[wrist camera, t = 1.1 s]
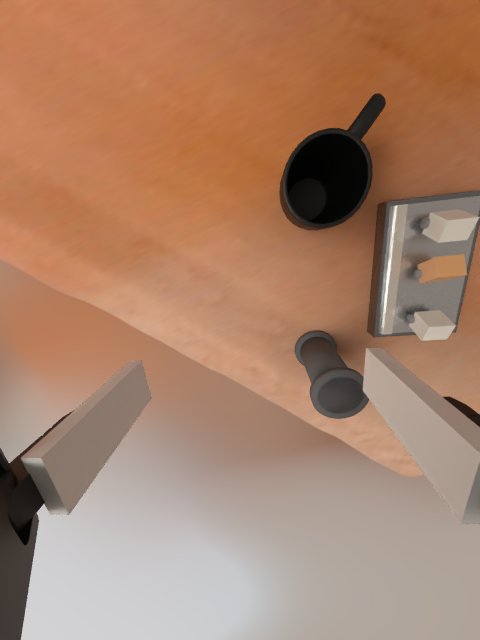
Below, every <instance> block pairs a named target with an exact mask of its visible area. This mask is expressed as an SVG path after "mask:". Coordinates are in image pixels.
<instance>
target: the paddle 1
mask: <svg viewBox="0 0 480 640" xmlns="http://www.w3.org/2000/svg"><path fill="white" fill-rule="evenodd" d="M479 218H480V217H478V216H476V215H473V214H470V213H468V212H465V211H462V210H460V209H457V210H448V211H439V212H430V215H429V217H428V218H423V219H422V220H421V222H420V228H421V229H424V230H423V232H422V234H424V235H425V236H427V237H429V238H431V239H432V240H434V241H436V242H437V243H441V242H451V241H461V240H468V238H469V236H470V234H471V232H472V230H473V229H474V227H475V225H476V223H477V221H478V219H479Z"/></svg>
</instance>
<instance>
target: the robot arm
mask: <svg viewBox="0 0 480 640" xmlns="http://www.w3.org/2000/svg"><path fill="white" fill-rule="evenodd" d="M363 392H364V393H365V394H366V396H367V397H368V398H369V400H370V401H371V402H372V404H373V405H374V407H375V408H376V409H377V411H378V412H379V413H380V415H381V416H382V417H383V419H384V420H385V422H386V423H387V424H388V426H389V427H390V428H391V430H392V431H393V432H394V434H395V435H396V437H397V438H398V439H399V441H400V442H401V443H402V445H403V446H404V447H405V449H406V450H407V451H408V453H409V454H410V456H411V457H412V458H413V460H414V461H415V462H416V464H417V465H418V466H419V468H420V469H421V471H422V472H423V473H424V475H425V476H426V477H427V479H428V480H429V481H430V483H431V484H432V486H433V487H434V488H435V490H436V491H437V492H438V494H439V495H440V496H441V498H442V499H443V501H444V502H445V503H446V505H447V506H448V507H449V509H450V510H451V511H452V513H453V514H454V515H455V517H456V518H457V520H458V521H459V522H460V524H480V415H479V414H478V413H477V412H475V411H474V410H473V409H471V408H470V407H469V406H467V405H466V404H464V403H462V402H460V401H458V400H456V399H454V398H452V397H442V396H440V395H439V394H438V393H437V392H435V391H434V390H433V389H432V388H431V387H429V386H428V385H427V384H426V383H424V382H423V381H422V380H421V379H419V378H418V377H417V376H416V375H414V374H413V373H412V372H411V371H410V370H408V369H407V368H406V367H405V366H403V365H402V364H401V363H400V362H398V361H397V360H396V359H395V358H393V357H392V356H391V355H390V354H389V353H387V352H386V351H385V350H384V349H382V348H381V347H376V348H366V356H365V368H364V381H363ZM150 400H151V394H150V390H149V386H148V383H147V379H146V375H145V371H144V367H143V364H142V361H130V362H129V363H127V364H126V365H125V366H124V367H123V368H122V369H121V370H120V371H119V372H117V373H116V374H115V375H114V376H113V377H111V378H110V379H109V380H108V381H107V382H106V383H105V384H104V385H102V386H101V387H100V388H99V389H98V390H97V391H96V392H95V393H94V394H92V395H91V396H90V397H89V398H88V399H87V400H86V401H84V402H83V403H82V404H81V405H80V406H79V407H78V408H76V409H75V410H74V411H72V412H70V413H69V414H67V415H66V416H64V417H62V418H61V419H60V420H59V421H58V422H57V423H56V424H54V425H53V426H52V428H50V429H49V430H48V431H46V432H45V433H44V435H43V436H41V437H39V438H38V439H37V440H36V441H35V442H34V443H33V444H31V445H30V446H29V447H28V448H27V449H26V450H24V451H23V452H22V453H21V454H20V455H19V456H17V457H16V458H15V459H14V460H13V461H12V462H11V463H8V461H7V459H6V458H5V456H4V454H3V452H2V450H1V448H0V640H21V634H22V627H23V621H24V615H25V607H26V601H27V595H28V587H29V582H30V575H31V568H32V562H33V556H34V549H35V543H36V536H37V530H38V523H39V520H38V515H37V513H36V512H37V511H38V510H39V509H40V508H41V506H42V505H43V504H45V506H46V507H47V509H48V511H49V513H50V514H56V515H69V514H70V513H71V511H72V510H73V509H74V507H75V506H76V504H77V503H78V501H79V500H80V499H81V497H82V496H83V494H84V493H85V492H86V490H87V489H88V487H89V486H90V484H91V483H92V482H93V480H94V479H95V477H96V476H97V474H98V473H99V472H100V470H101V469H102V468H103V466H104V465H105V463H106V462H107V461H108V459H109V457H110V456H111V455H112V453H113V452H114V451H115V449H116V448H117V446H118V445H119V444H120V442H121V441H122V439H123V438H124V436H125V435H126V434H127V432H128V431H129V429H130V428H131V427H132V425H133V424H134V422H135V421H136V419H137V418H138V417H139V415H140V414H141V412H142V411H143V409H144V408H145V407H146V405H147V404H148V403H149V401H150Z"/></svg>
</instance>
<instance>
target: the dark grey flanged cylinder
mask: <svg viewBox="0 0 480 640" xmlns="http://www.w3.org/2000/svg"><path fill="white" fill-rule="evenodd" d="M336 350H337V349H336V344H335V342H334V340H333V339H332V338H331V337H330V336H329V335H328V334H327V333H325V332H322V331H311V332H308V333H305V334H304V335H302V336H301V337H300V338H299V339H298V341H297V343H296V345H295V354H296V357H297V359H298V361H299V362H300V363H301V364H302V365H304V366H305V368H306V371H307V373H308V376H309V378H310V381H311V387H310V397H311V400H312V403H313V406H314V407H315V409H316V410H317V411H318V412H319V413H321V414H322V415H324V416H327V417H330V418H336V419H341V418H347V417H351V416H353V415H355V414H357V413H359V412H360V411H361V410H362V409H363V408H364V407H365V406H366V405H367V403H368V401H369V398H368V397H367V396H366V394H365V393H364V392H363V381H364V378H363V376H362V375H361V374H360V373H358V372H357V371H355V370H353V369H350V368H348V367H347V366H346V364H345V363H344V361H343V360H342V359H341V357H340V356H339V355H338V353H337V352H336Z"/></svg>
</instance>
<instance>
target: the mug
mask: <svg viewBox="0 0 480 640" xmlns="http://www.w3.org/2000/svg"><path fill="white" fill-rule="evenodd" d="M385 104H386V102H385V98H384V97H383V96H382V95H381V94H379V93H378V94H374V95H373V96H372V97H371V98H370V100H369V101H368V103H367V104H366V105H365V107H364V108H363V109H362V111H361V112H360V114H359V115H358V116H357V118H356V119H355V121H354V122H353V123H352V125H351V126H350V127H349V129H348V130H344V129H340V128H328V129H324V130H320V131H317V132H315V133H314V134H312V135H310V136H308V137H307V138H306V139H304V140H303V141H302V142H301V143H300V144H299V145H298V146H297V147H296V148H295V150H294V151H293V152H292V154H291V156H290V158H289V160H288V162H287V164H286V166H285V169H284V172H283V176H282V179H281V183H280V202H281V206H282V209H283V212H284V213H285V215H286V217H287V218H288V219H289V220H290V221H291V222H292V223H293V224H294V225H296V226H298V227H300V228H303V229H307V230H321V229H326V228H330V227H334V226H336V225H338V224H341V223H343V222H344V221H346V220H347V219H349V218H350V217H351V216H352V215H353V214H354V213H355V212H356V211H357V210H358V209H359V208H360V206H361V205H362V203H363V202H364V200H365V199H366V196H367V194H368V192H369V189H370V186H371V181H372V161H371V157H370V153H369V151H368V149H367V147H366V145H365V144H364V143H363V142H362V141H361V139H362V138H363V136H364V135H365V134H366V132H367V131H368V130H369V128H370V127H371V125H372V124H373V123H374V121H375V120H376V119H377V117H378V116H379V114H380V113H381V112H382V110H383V109H384V107H385Z"/></svg>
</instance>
